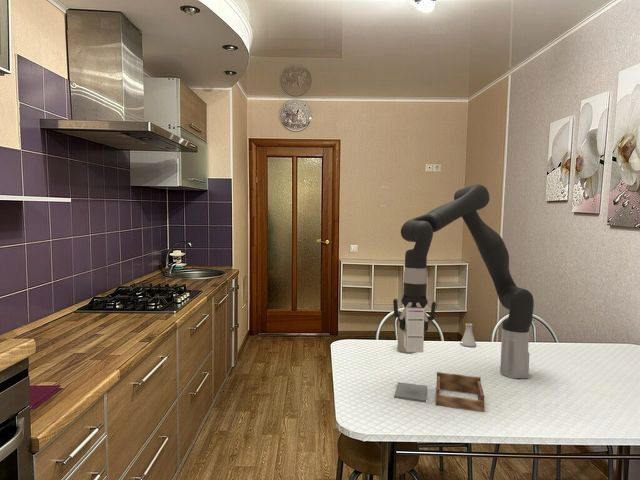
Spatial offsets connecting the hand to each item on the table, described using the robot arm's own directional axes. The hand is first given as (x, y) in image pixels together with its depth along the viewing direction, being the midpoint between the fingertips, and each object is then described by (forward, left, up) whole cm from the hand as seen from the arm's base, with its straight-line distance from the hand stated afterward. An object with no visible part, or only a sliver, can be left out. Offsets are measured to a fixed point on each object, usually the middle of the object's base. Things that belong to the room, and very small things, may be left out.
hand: (413, 331), depth 134 cm
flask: (-22, -64, -21) cm, 71 cm away
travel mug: (+5, -45, -21) cm, 50 cm away
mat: (0, 0, -21) cm, 21 cm away
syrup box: (0, 0, -6) cm, 6 cm away
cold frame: (-15, 0, -21) cm, 25 cm away
